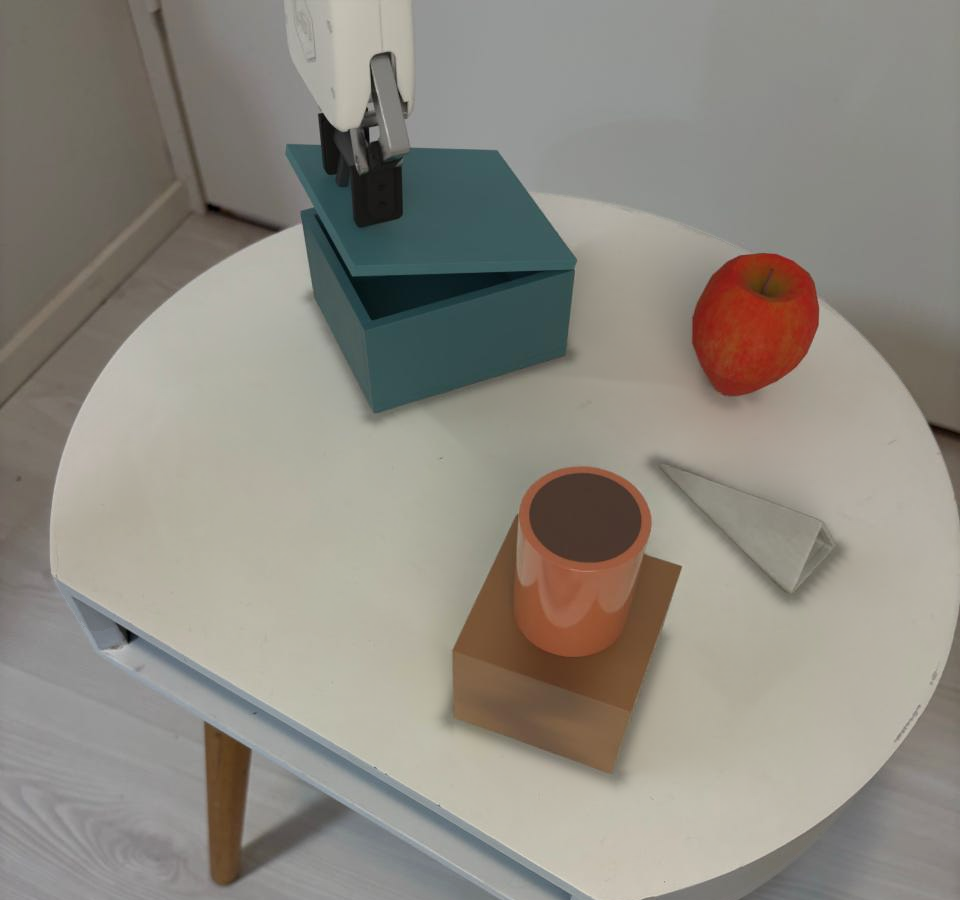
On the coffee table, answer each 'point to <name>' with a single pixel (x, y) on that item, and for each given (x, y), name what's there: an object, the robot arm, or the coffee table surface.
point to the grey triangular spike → (761, 528)
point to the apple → (754, 322)
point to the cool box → (435, 322)
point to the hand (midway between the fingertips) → (362, 191)
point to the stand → (556, 669)
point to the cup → (578, 559)
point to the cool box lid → (435, 215)
